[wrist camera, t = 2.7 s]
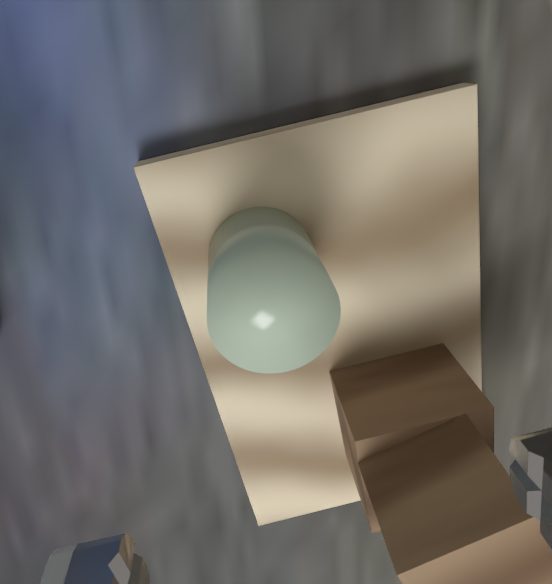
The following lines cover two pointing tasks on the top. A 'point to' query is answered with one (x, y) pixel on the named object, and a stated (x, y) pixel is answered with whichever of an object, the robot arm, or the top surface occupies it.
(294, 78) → the top surface
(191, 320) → the board
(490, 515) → the top block
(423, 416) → the base block
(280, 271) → the canister
